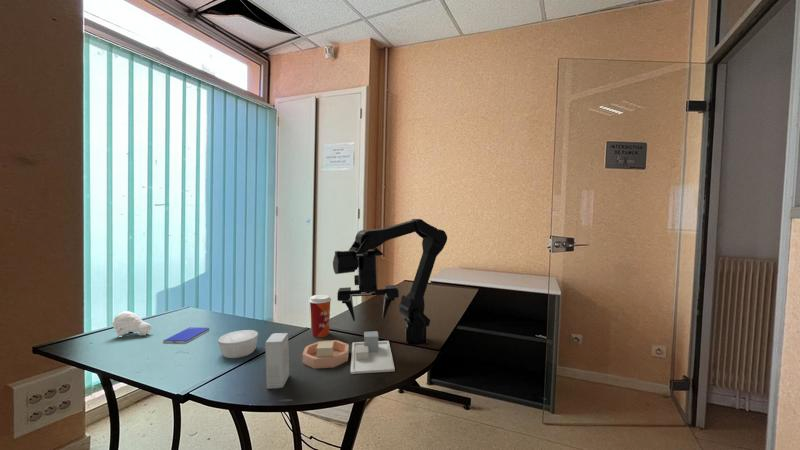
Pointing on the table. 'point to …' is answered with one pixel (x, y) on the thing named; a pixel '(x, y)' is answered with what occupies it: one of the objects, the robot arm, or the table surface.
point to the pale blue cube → (371, 341)
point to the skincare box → (277, 360)
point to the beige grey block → (362, 353)
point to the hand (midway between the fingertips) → (369, 319)
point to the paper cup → (320, 315)
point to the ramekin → (238, 343)
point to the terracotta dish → (326, 362)
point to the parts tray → (373, 359)
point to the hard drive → (186, 335)
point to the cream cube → (325, 349)
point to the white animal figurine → (130, 324)
